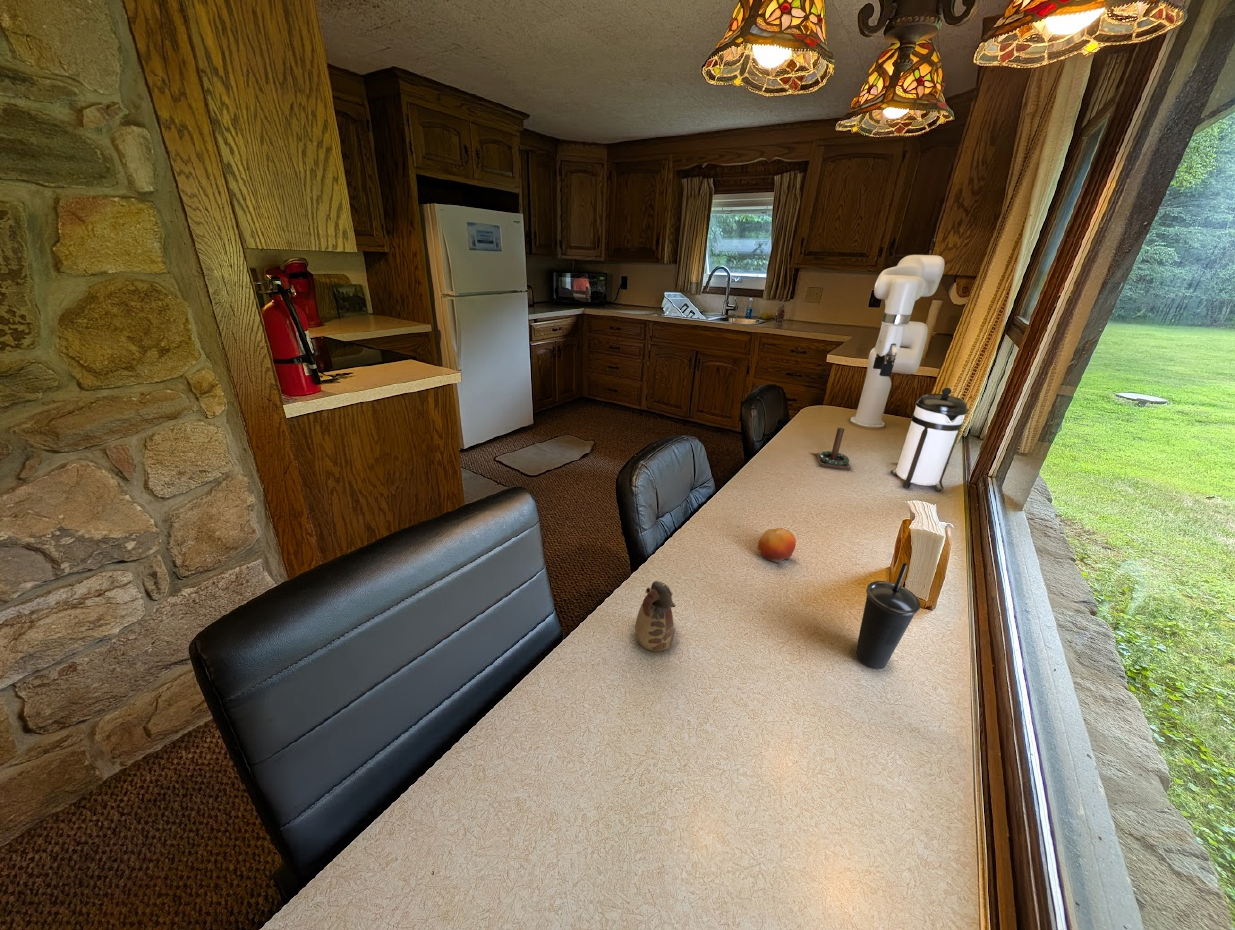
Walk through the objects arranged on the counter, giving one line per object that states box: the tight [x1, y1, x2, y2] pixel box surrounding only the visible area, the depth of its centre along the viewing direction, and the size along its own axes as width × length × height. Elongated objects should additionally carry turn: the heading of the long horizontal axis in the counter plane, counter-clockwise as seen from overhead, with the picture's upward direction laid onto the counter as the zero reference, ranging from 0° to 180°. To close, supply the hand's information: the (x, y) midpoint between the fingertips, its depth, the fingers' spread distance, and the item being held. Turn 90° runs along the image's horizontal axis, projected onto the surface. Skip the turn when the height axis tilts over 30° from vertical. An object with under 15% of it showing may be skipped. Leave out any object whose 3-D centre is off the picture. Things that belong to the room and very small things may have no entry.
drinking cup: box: [855, 562, 921, 670], centre depth 75 cm, size 8×8×20 cm
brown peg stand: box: [816, 427, 851, 471], centre depth 151 cm, size 9×9×12 cm
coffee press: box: [889, 387, 970, 493], centre depth 137 cm, size 17×16×30 cm
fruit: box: [757, 527, 797, 564], centre depth 104 cm, size 8×8×8 cm
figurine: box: [634, 580, 677, 653], centre depth 80 cm, size 7×7×12 cm
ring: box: [819, 450, 850, 466], centre depth 152 cm, size 9×9×2 cm
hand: (881, 372), depth 154 cm, fingers open, 9 cm apart
